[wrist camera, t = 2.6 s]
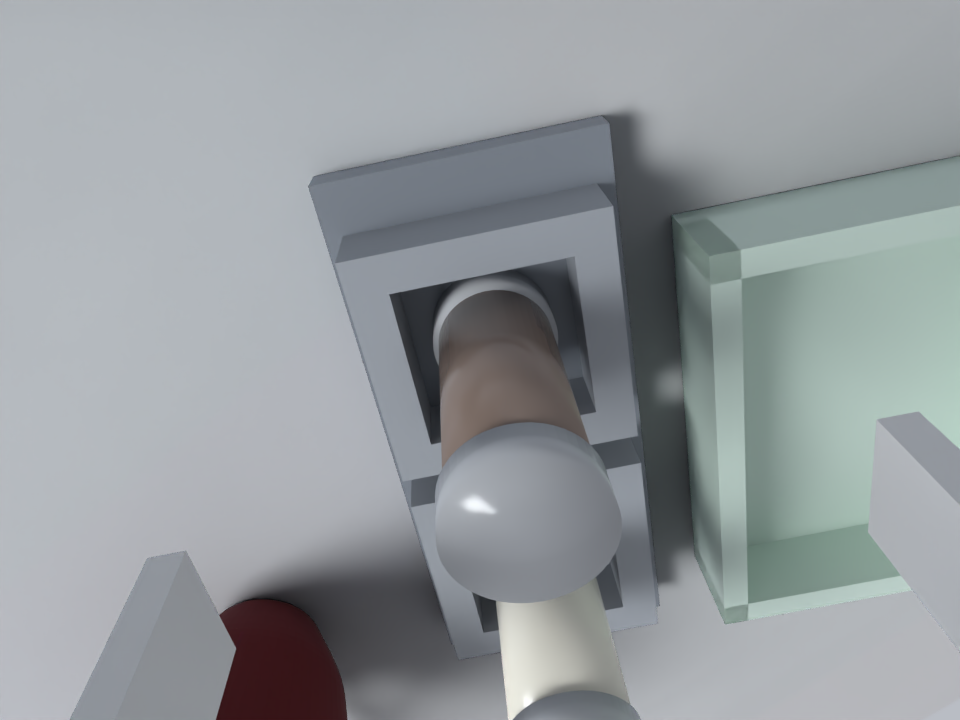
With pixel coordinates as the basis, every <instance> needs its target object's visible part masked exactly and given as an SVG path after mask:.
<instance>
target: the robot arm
mask: <svg viewBox="0 0 960 720" xmlns="http://www.w3.org/2000/svg"><path fill="white" fill-rule="evenodd" d="M868 533H869V534H870V536H871V537H872V538H873V539H874V541H875V542H876V543H877V545H878V546H879V547H880V549H881V550H882V551H883V553H884V554H885V555H886V557H887V558H888V559H889V560H890V562H891V563H892V564H893V566H894V567H895V568H896V570H897V571H898V572H899V574H900V575H901V576H902V578H903V579H904V580H905V581H906V583H907V584H908V585H909V587H910V588H911V589H912V591H913V592H914V593H915V595H916V596H917V597H918V598H919V600H920V601H921V602H922V604H923V605H924V606H925V608H926V609H927V610H928V612H929V613H930V614H931V616H932V617H933V618H934V619H935V621H936V622H937V623H938V625H939V626H940V627H941V629H942V630H943V631H944V633H945V634H946V635H947V636H948V638H949V639H950V640H951V642H952V643H953V644H954V646H955V647H956V648H957V650H958V651H959V652H960V449H959V448H958V447H957V446H956V445H954V444H953V443H952V442H951V441H950V440H949V439H948V438H947V437H946V436H945V435H944V434H943V433H941V432H940V431H939V430H938V429H937V428H936V427H935V426H934V425H933V424H932V423H931V422H930V421H929V420H927V419H926V418H925V417H924V416H923V415H922V414H921V413H920V412H919V411H918V412H913V413H907V414H902V415H897V416H892V417H886V418H881V419H877V420H876V433H875V447H874V460H873V473H872V486H871V499H870V513H869V526H868ZM235 651H236V647H235V645H234V643H233V641H232V639H231V637H230V635H229V634H228V632H227V630H226V628H225V626H224V624H223V622H222V620H221V618H220V616H219V614H218V612H217V610H216V608H215V606H214V604H213V602H212V600H211V598H210V596H209V595H208V593H207V591H206V589H205V587H204V585H203V583H202V581H201V579H200V577H199V575H198V573H197V571H196V569H195V567H194V565H193V563H192V561H191V559H190V557H189V556H188V554H187V552H186V551H182V552H177V553H172V554H166V555H161V556H156V557H151V558H147V560H146V562H145V564H144V566H143V568H142V571H141V573H140V575H139V577H138V579H137V581H136V583H135V585H134V587H133V589H132V591H131V593H130V595H129V598H128V600H127V602H126V604H125V606H124V608H123V610H122V612H121V614H120V616H119V618H118V620H117V623H116V625H115V627H114V629H113V631H112V633H111V635H110V637H109V639H108V641H107V643H106V645H105V648H104V650H103V652H102V654H101V656H100V658H99V660H98V662H97V664H96V666H95V668H94V670H93V673H92V675H91V677H90V679H89V681H88V683H87V685H86V687H85V689H84V691H83V693H82V695H81V698H80V700H79V702H78V704H77V706H76V708H75V710H74V712H73V714H72V716H71V718H70V720H216V717H217V714H218V710H219V707H220V703H221V700H222V696H223V693H224V689H225V686H226V682H227V679H228V675H229V672H230V668H231V665H232V661H233V658H234V654H235Z"/></svg>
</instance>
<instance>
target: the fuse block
mask: <svg viewBox="0 0 960 720" xmlns="http://www.w3.org/2000/svg"><path fill="white" fill-rule="evenodd" d="M308 187H309V191H310V194H311V197H312V200H313V203H314V207H315V210H316V213H317V216H318V219H319V222H320V226H321V229H322V232H323V235H324V238H325V242H326V245H327V248H328V251H329V254H330V258H331V261H332V264H333V267H334V270H335V274H336V277H337V280H338V283H339V286H340V290H341V293H342V296H343V299H344V302H345V306H346V309H347V312H348V315H349V318H350V321H351V325H352V328H353V331H354V334H355V337H356V341H357V344H358V347H359V350H360V353H361V357H362V360H363V363H364V366H365V369H366V373H367V376H368V379H369V382H370V385H371V389H372V392H373V395H374V398H375V401H376V405H377V408H378V411H379V414H380V417H381V420H382V424H383V427H384V430H385V433H386V436H387V440H388V443H389V446H390V449H391V452H392V456H393V459H394V462H395V465H396V468H397V472H398V475H399V478H400V481H401V484H402V488H403V491H404V494H405V497H406V500H407V504H408V507H409V510H410V513H411V516H412V519H413V523H414V526H415V529H416V532H417V535H418V539H419V542H420V545H421V548H422V551H423V555H424V558H425V561H426V564H427V567H428V571H429V574H430V577H431V580H432V583H433V587H434V590H435V593H436V596H437V599H438V603H439V606H440V609H441V612H442V615H443V618H444V622H445V625H446V628H447V631H448V634H449V638H450V641H451V644H453V645H454V648H455V651H456V654H457V657H458V660H462V659H467V658H472V657H478V656H483V655H489V654H494V653H500V652H501V645H500V636H499V626H498V617H497V607H496V600H492V599H488V598H485V597H482V596H480V595H477V594H475V593H473V592H471V591H469V590H467V589H466V588H464V587H463V586H462V585H460V584H459V583H458V582H457V581H455V580H454V579H453V578H452V577H451V576H450V574H449V573H448V572H447V571H446V569H445V568H444V566H443V564H442V563H441V560H440V558H439V555H438V552H437V547H436V524H435V490H436V484H437V481H438V477H439V475H440V472H441V470H442V454H441V417H440V381H439V365H438V363H437V361H436V358H435V355H434V350H433V315H434V311H435V307H436V305H437V303H438V300H439V299H440V297H441V295H442V294H443V293H444V291H445V290H446V289H447V288H448V287H449V286H450V285H451V284H452V283H453V282H455V281H457V280H462V279H467V278H472V277H477V276H482V275H486V274H491V273H496V272H501V271H506V270H513V271H516V272H518V273H521V274H523V275H525V276H527V277H528V278H530V279H531V280H532V281H534V282H535V283H536V284H537V285H538V286H539V287H540V289H541V290H542V291H543V292H544V294H545V296H546V297H547V300H548V302H549V305H550V307H551V310H552V313H553V316H554V319H555V322H556V326H557V330H558V349H559V352H560V355H561V358H562V361H563V364H564V367H565V370H566V373H567V376H568V379H569V382H570V385H571V388H572V391H573V394H574V397H575V401H576V404H577V407H578V410H579V413H580V416H581V419H582V422H583V425H584V428H585V431H586V434H587V437H588V440H589V443H590V445H591V446H592V447H593V448H594V449H595V451H596V452H597V453H598V454H599V456H600V458H601V459H602V461H603V463H604V466H605V468H606V471H607V474H608V477H609V479H610V482H611V485H612V488H613V491H614V494H615V497H616V500H617V503H618V506H619V509H620V513H621V517H622V533H621V539H620V542H619V546H618V548H617V550H616V552H615V554H614V556H613V558H612V559H611V561H610V562H609V564H608V565H607V566H606V567H605V568H604V569H603V571H602V572H601V573H599V574H598V575H597V576H596V578H597V582H598V586H599V589H600V593H601V597H602V601H603V604H604V608H605V612H606V615H607V619H608V623H609V627H610V630H611V632H614V631H619V630H625V629H630V628H635V627H641V626H646V625H652V624H657V623H658V618H657V608H656V606H660V604H659V594H658V585H657V575H656V565H655V556H654V546H653V537H652V527H651V517H650V508H649V498H648V489H647V479H646V470H645V460H644V450H643V441H642V431H641V422H640V412H639V403H638V393H637V383H636V374H635V364H634V355H633V345H632V336H631V326H630V316H629V307H628V297H627V288H626V278H625V269H624V259H623V249H622V240H621V230H620V221H619V211H618V201H617V192H616V182H615V173H614V163H613V154H612V144H611V134H610V125H609V122H608V121H607V120H606V119H604V118H603V117H602V116H597V117H592V118H587V119H583V120H578V121H573V122H569V123H564V124H559V125H554V126H550V127H545V128H540V129H536V130H531V131H526V132H521V133H517V134H512V135H507V136H502V137H498V138H493V139H488V140H484V141H479V142H474V143H469V144H465V145H460V146H455V147H451V148H446V149H441V150H436V151H432V152H427V153H422V154H418V155H413V156H408V157H403V158H399V159H394V160H389V161H384V162H380V163H375V164H370V165H366V166H361V167H356V168H351V169H347V170H342V171H337V172H333V173H328V174H323V175H318V176H314V177H313V178H312V180H311V182H310V184H309V186H308Z"/></svg>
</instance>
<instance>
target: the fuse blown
mask: <svg viewBox="0 0 960 720" xmlns="http://www.w3.org/2000/svg"><path fill="white" fill-rule="evenodd" d="M433 350H434V355H435V358H436V361H437V363H438V365H439V381H440V417H441V454H442V470H441V472H440V475H439V477H438V481H437V484H436V490H435V524H436V547H437V552H438V555H439V558H440V560H441V563H442V564H443V566H444V568H445V569H446V571H447V572H448V573H449V574H450V576H451V577H452V578H453V579H454V580H455V581H457V582H458V583H459V584H460V585H462V586H463V587H464V588H466V589H467V590H469V591H471V592H473V593H475V594H477V595H480V596H482V597H485V598H488V599H492V600H496V601H501V602H507V603H534V602H541V601H546V600H551V599H555V598H558V597H561V596H564V595H566V594H569V593H571V592H573V591H575V590H577V589H579V588H581V587H582V586H584V585H586V584H587V583H588V582H590V581H591V580H593V579H594V578H595V577H596V576H597V575H598V574H599V573H601V572H602V571H603V569H604V568H605V567H606V566H607V565H608V564H609V562H610V561H611V559H612V558H613V556H614V554H615V552H616V550H617V548H618V546H619V542H620V539H621V533H622V517H621V513H620V509H619V506H618V503H617V500H616V497H615V494H614V491H613V488H612V485H611V482H610V479H609V477H608V474H607V471H606V468H605V466H604V463H603V461H602V459H601V458H600V456H599V454H598V453H597V452H596V451H595V449H594V448H593V447H592V446H591V445H590V443H589V440H588V437H587V434H586V431H585V428H584V425H583V422H582V419H581V416H580V413H579V410H578V407H577V404H576V401H575V397H574V394H573V391H572V388H571V385H570V382H569V379H568V376H567V373H566V370H565V367H564V364H563V361H562V358H561V355H560V352H559V349H558V330H557V326H556V322H555V319H554V316H553V313H552V310H551V307H550V305H549V302H548V300H547V297H546V296H545V294H544V292H543V291H542V290H541V289H540V287H539V286H538V285H537V284H536V283H535V282H534V281H532V280H531V279H530V278H528V277H527V276H525V275H523V274H521V273H518V272H516V271H513V270H506V271H501V272H496V273H491V274H486V275H482V276H477V277H472V278H467V279H462V280H457V281H455V282H453V283H452V284H451V285H450V286H449V287H448V288H447V289H446V290H445V291H444V293H443V294H442V295H441V297H440V299H439V300H438V303H437V305H436V307H435V311H434V315H433Z"/></svg>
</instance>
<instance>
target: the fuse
mask: <svg viewBox="0 0 960 720" xmlns="http://www.w3.org/2000/svg"><path fill="white" fill-rule="evenodd" d="M496 607H497V617H498V626H499V636H500V645H501V655H502V664H503V674H504V684H505V693H506V703H507V712H508V720H641V719H640V717H639V715H638V713H637V711H636V710H635V709H634V708H633V707H632V706H631V705H630V701H629V697H628V694H627V690H626V686H625V683H624V679H623V675H622V671H621V668H620V664H619V660H618V656H617V653H616V649H615V645H614V642H613V638H612V634H611V630H610V627H609V623H608V619H607V615H606V612H605V608H604V604H603V601H602V597H601V593H600V589H599V586H598V582H597V578H596V577H595V578H594V579H593V580H591V581H590V582H588V583H587V584H586V585H584V586H582V587H581V588H579V589H577V590H575V591H573V592H571V593H569V594H566V595H564V596H561V597H558V598H555V599H551V600H546V601H541V602H534V603H507V602H501V601H496Z"/></svg>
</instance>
